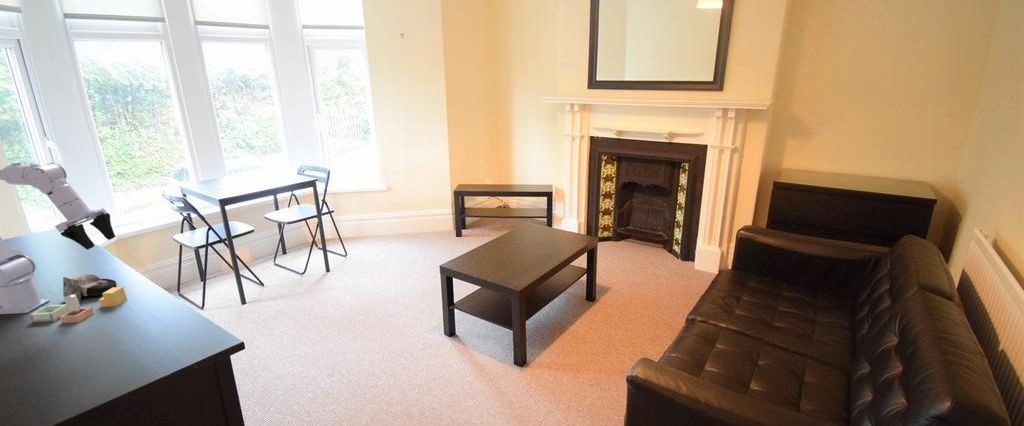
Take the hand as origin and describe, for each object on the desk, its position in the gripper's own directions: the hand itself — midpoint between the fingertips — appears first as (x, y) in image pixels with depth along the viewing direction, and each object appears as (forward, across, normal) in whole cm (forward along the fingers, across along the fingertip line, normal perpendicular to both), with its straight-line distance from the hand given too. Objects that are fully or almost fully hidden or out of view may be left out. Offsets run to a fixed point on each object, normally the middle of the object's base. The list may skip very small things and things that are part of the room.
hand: (101, 243), depth 139 cm
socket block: (+16, -8, +14) cm, 22 cm away
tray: (+12, -7, +22) cm, 26 cm away
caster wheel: (+13, +7, +21) cm, 26 cm away
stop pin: (+16, -8, +14) cm, 22 cm away
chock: (+17, 0, +10) cm, 20 cm away
